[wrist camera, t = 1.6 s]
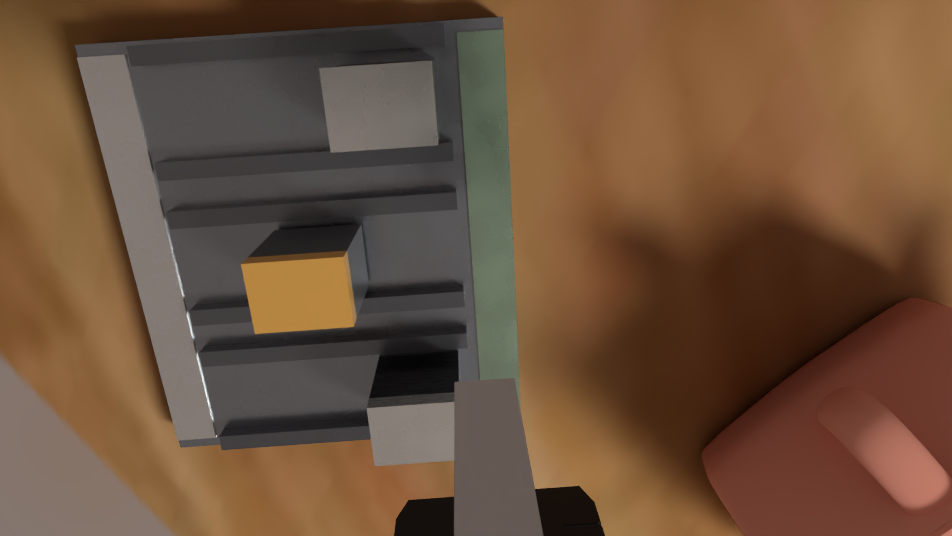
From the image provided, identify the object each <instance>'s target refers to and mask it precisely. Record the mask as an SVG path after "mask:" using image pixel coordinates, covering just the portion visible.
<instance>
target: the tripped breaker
mask: <svg viewBox="0 0 952 536" xmlns="http://www.w3.org/2000/svg"><path fill="white" fill-rule="evenodd" d="M241 267H242V272H243V277H244V282H245V287H246V292H247V297H248V302H249V307H250V312H251V317H252V322H253V327H254V332H255V334H261V333H275V332H290V331H304V330H318V329H332V328H346V327H354V325H355V322H356V319H357V316H358V314H359V311H360V308H361V305H362V303H363V300H364V297H365V294H366V291H367V289H368V286H369V281H368V273H367V265H366V258H365V250H364V242H363V234H362V227H361V224H356V225H342V226H328V227H313V228H299V229H284V230H274V231H273V232H272V233H271V234H270V235H269V236H268V237H267V238H266V239H265V240H264V241H263V242H262V243H261V244H260V245H259V246H258V247H257V248H256V249H255V250H254V251H253V252H252V253H251V254H250V255H249V256H248V257H247V258H246V259H245V260H244V261H243V262H242V263H241Z"/></svg>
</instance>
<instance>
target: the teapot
mask: <svg viewBox="0 0 952 536" xmlns="http://www.w3.org/2000/svg"><path fill="white" fill-rule="evenodd" d="M701 457H702V461H703V464H704V468H705V471H706V474H707V477H708V479H709V481H710V483H711V485H712V487H713V488H714V490H715V492H716V493H717V495H718V497H719V498H720V500H721V501H722V503H723V504H724V506H725V507H726V509H727V510H728V512H729V514H730V515H731V517H732V518H733V520H734V521H735V523H736V524H737V525H738V527H739V528H740V530H741V531H742V533H743V534H744V536H952V308H950V307H947V306H945V305H942V304H938V303H935V302H932V301H928V300H925V299H920V298H916V297H911V298H908V299H905V300H903V301H901V302H899V303H897V304H896V305H894V306H892V307H890V308H889V309H887V310H885V311H884V312H882V313H881V314H879V315H878V316H876V317H874V318H873V319H871V320H870V321H868V322H867V323H865V324H864V325H862V326H861V327H859V328H858V329H856V330H855V331H853V332H852V333H850V334H849V335H847V336H846V337H844V338H843V339H841V340H840V341H838V342H837V343H835V344H834V345H832V346H831V347H829V348H828V349H826V350H825V351H823V352H822V353H821V354H819V355H818V356H816V357H815V358H813V359H812V360H810V361H809V362H808V363H806V364H805V365H804V366H802V367H801V368H799V369H798V370H797V371H795V372H794V373H793V374H791V375H790V376H789V377H787V378H786V379H785V380H783V381H782V382H781V383H780V384H778V385H777V386H776V387H775V388H773V389H772V390H771V391H770V392H768V393H767V394H766V395H765V396H764V397H762V398H761V399H760V400H759V401H757V402H756V403H755V404H754V405H753V406H751V407H750V408H749V409H748V410H747V411H745V412H744V413H743V414H742V415H741V416H739V417H738V418H737V419H736V420H734V421H733V422H732V423H731V424H730V425H729V426H728V427H726V428H725V429H724V430H723V431H722V432H721V433H719V434H718V435H717V436H716V437H715V438H714V439H713V440H712V441H711V442H710V443H709V444H708V445H707V446H706V447H705V449H704V450H703V451H702V454H701Z"/></svg>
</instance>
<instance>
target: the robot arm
mask: <svg viewBox="0 0 952 536" xmlns="http://www.w3.org/2000/svg"><path fill="white" fill-rule="evenodd" d="M394 536H605V535H604V531H603V528H602V526H601V522H600V519H599V515H598V512H597V509H596V506H595V502H594V501H593V500H592V499H591V498H590V497H589V496H588V495H587V494H586V493H585V492H584V491H583V490H582V489H581V487H580V486H572V487H559V488H545V489H535V487H534V482H533V476H532V471H531V465H530V460H529V455H528V449H527V444H526V438H525V433H524V427H523V422H522V416H521V411H520V406H519V400H518V395H517V389H516V384H515V378H505V379H491V380H477V381H463V382H454V497H445V498H431V499H418V500H408V502H407V503H406V505H405V506H404V508H403V509H402V511H401V512H400V514H399V515H398V517H397V518H396V525H395V533H394Z"/></svg>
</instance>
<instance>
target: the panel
mask: <svg viewBox="0 0 952 536" xmlns="http://www.w3.org/2000/svg"><path fill="white" fill-rule="evenodd" d="M75 48H76V52H77V55H78V58H77V61H78V64H79V68H80V72H81V76H82V80H83V83H84V87H85V91H86V95H87V98H88V102H89V106H90V110H91V114H92V117H93V121H94V125H95V129H96V133H97V136H98V140H99V144H100V148H101V152H102V155H103V159H104V163H105V167H106V171H107V174H108V178H109V182H110V186H111V190H112V193H113V197H114V201H115V205H116V208H117V212H118V216H119V220H120V224H121V227H122V231H123V235H124V239H125V243H126V246H127V250H128V254H129V258H130V262H131V265H132V269H133V273H134V277H135V281H136V284H137V288H138V292H139V296H140V300H141V303H142V307H143V311H144V315H145V318H146V322H147V326H148V330H149V334H150V337H151V341H152V345H153V349H154V353H155V356H156V360H157V364H158V368H159V372H160V375H161V379H162V383H163V387H164V391H165V394H166V398H167V402H168V406H169V410H170V413H171V417H172V421H173V425H174V428H175V432H176V436H177V440H179V443H180V447H194V446H207V445H221V448H222V450H229V449H243V448H257V447H270V446H284V445H298V444H312V443H325V442H339V441H353V440H366V439H371V443H372V450H373V457H374V464H375V466H384V465H397V464H411V463H425V462H438V461H452V460H454V382H463V381H477V380H491V379H505V378H515V384H516V389H517V395H518V400H519V406H520V387H519V365H518V342H517V320H516V297H515V275H514V252H513V230H512V208H511V185H510V163H509V140H508V118H507V95H506V73H505V51H504V29H503V17H491V18H476V19H461V20H446V21H431V22H415V23H400V24H385V25H370V26H355V27H340V28H325V29H309V30H294V31H279V32H264V33H249V34H234V35H218V36H203V37H188V38H173V39H158V40H143V41H127V42H112V43H97V44H82V45H75ZM356 224H361V227H362V234H363V242H364V250H365V258H366V265H367V273H368V281H369V286H368V289H367V291H366V294H365V297H364V300H363V303H362V305H361V308H360V311H359V314H358V316H357V319H356V322H355V325H354V327H346V328H332V329H318V330H304V331H290V332H275V333H261V334H255V332H254V327H253V322H252V317H251V312H250V307H249V302H248V297H247V292H246V287H245V282H244V277H243V272H242V267H241V263H242V262H243V261H244V260H245V259H246V258H247V257H248V256H249V255H250V254H251V253H252V252H253V251H254V250H255V249H256V248H257V247H258V246H259V245H260V244H261V243H262V242H263V241H264V240H265V239H266V238H267V237H268V236H269V235H270V234H271V233H272V232H273V231H274V230H284V229H299V228H313V227H328V226H342V225H356ZM520 411H521V409H520Z"/></svg>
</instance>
